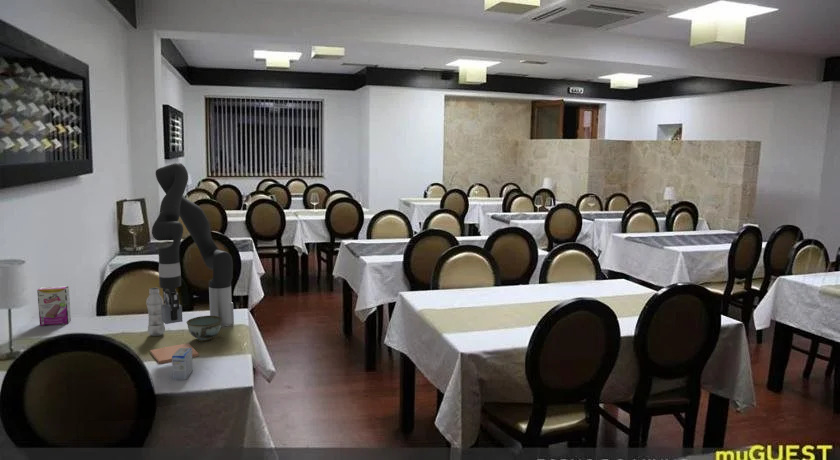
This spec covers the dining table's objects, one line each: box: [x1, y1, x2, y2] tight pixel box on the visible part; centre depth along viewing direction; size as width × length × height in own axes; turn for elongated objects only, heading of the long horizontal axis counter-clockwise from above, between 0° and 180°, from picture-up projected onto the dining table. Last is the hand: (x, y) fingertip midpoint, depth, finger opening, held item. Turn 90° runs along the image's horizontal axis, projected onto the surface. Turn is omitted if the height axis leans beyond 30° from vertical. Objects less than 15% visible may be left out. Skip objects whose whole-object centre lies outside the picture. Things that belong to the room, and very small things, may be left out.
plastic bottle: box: [145, 287, 166, 337], centre depth 241 cm, size 6×7×20 cm
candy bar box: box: [36, 285, 72, 327], centre depth 255 cm, size 11×5×16 cm, turn 108°
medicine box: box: [171, 348, 194, 381], centre depth 200 cm, size 8×4×9 cm, turn 5°
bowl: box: [186, 315, 222, 342], centre depth 238 cm, size 14×13×8 cm
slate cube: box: [161, 303, 184, 325], centre depth 219 cm, size 6×6×6 cm
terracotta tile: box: [149, 342, 199, 364], centre depth 221 cm, size 14×14×1 cm
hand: (171, 317), depth 219 cm, fingers closed on slate cube, 6 cm apart
